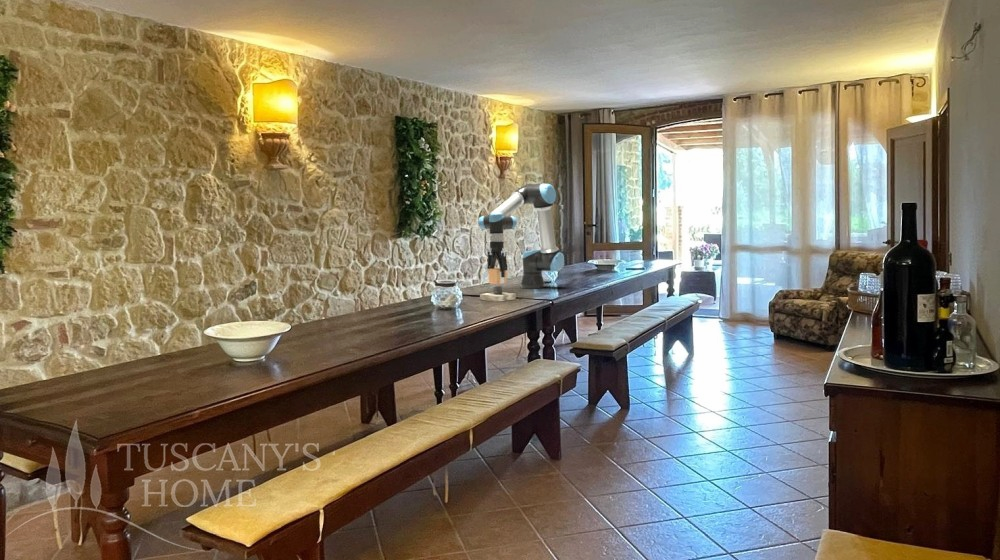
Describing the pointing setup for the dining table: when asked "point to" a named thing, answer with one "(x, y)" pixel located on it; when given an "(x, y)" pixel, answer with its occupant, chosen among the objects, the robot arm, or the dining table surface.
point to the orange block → (496, 276)
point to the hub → (498, 295)
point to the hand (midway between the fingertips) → (497, 282)
